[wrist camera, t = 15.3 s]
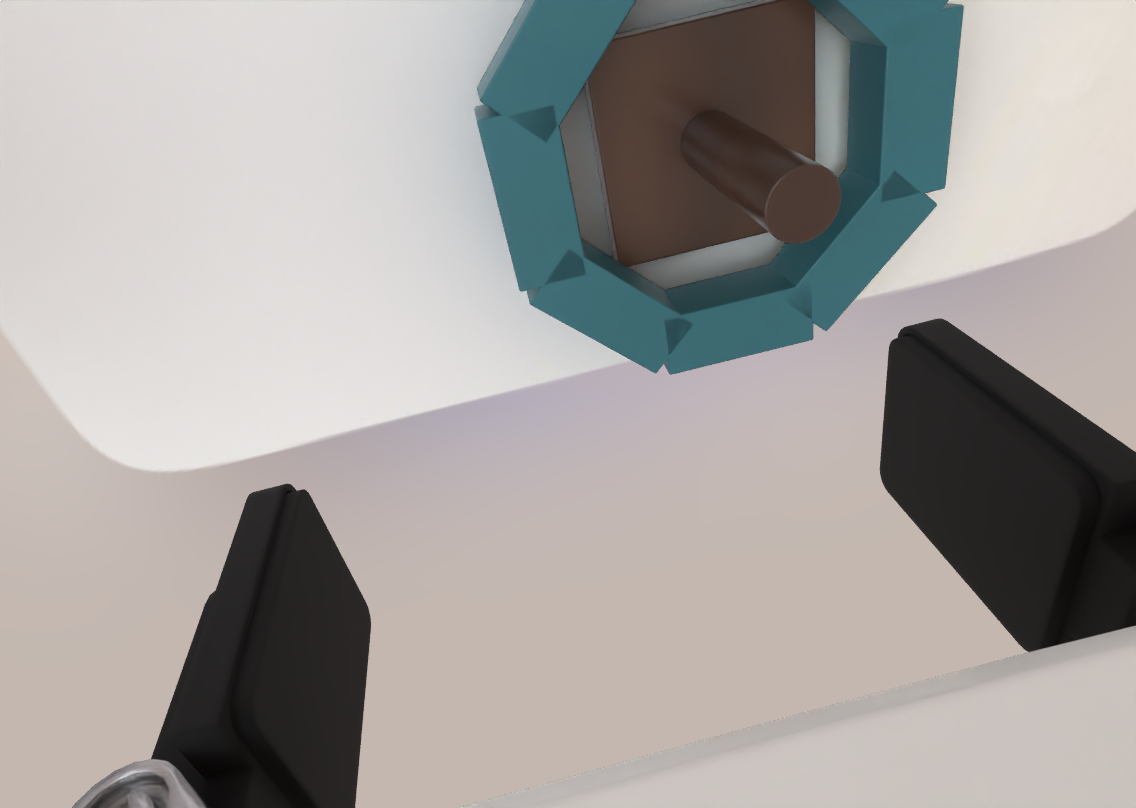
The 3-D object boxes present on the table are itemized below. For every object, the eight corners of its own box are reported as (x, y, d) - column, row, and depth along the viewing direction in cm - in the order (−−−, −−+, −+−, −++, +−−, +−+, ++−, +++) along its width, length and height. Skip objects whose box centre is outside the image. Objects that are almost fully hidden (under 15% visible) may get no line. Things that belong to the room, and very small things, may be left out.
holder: (613, 259, 32) (675, 368, 24) (577, 43, 27) (637, 80, 19) (804, 213, 32) (934, 303, 24) (802, -11, 27) (964, 2, 19)
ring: (541, 374, 33) (548, 405, 31) (430, -65, 24) (429, -68, 21) (899, 286, 34) (933, 310, 31) (933, -182, 24) (986, -198, 22)
